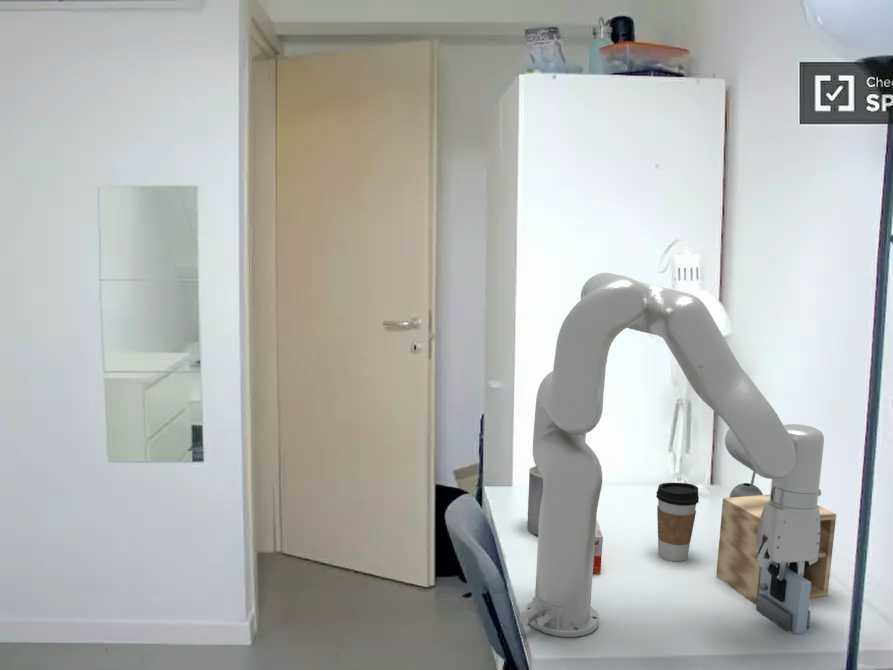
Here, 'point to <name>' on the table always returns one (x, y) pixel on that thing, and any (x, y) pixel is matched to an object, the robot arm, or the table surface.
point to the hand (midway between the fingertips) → (783, 597)
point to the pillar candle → (534, 499)
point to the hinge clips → (776, 612)
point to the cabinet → (741, 555)
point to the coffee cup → (675, 519)
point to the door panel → (790, 597)
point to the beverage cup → (746, 489)
